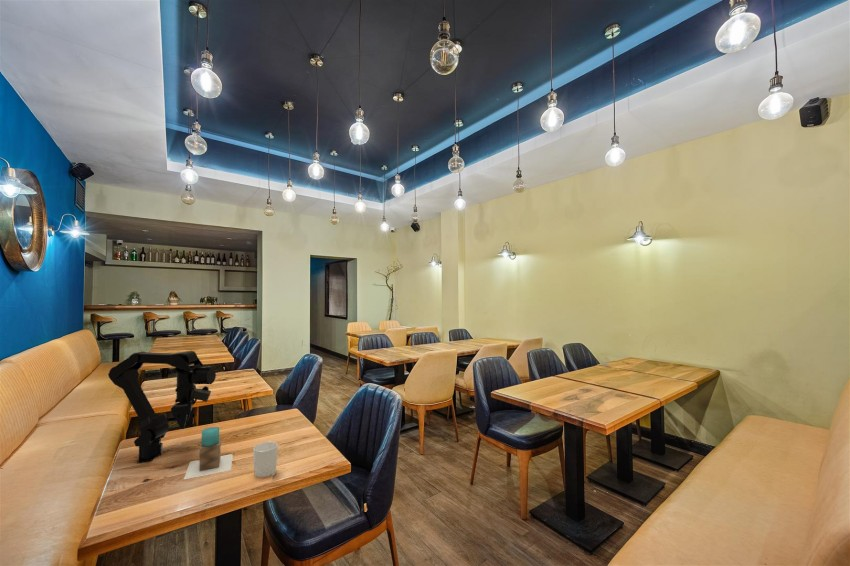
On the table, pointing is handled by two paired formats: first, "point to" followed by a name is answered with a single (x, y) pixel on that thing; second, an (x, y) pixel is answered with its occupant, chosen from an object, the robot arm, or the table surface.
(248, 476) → the table surface
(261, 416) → the table surface
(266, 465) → the white cup
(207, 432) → the teal cylinder
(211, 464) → the block
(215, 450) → the tower top
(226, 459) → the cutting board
